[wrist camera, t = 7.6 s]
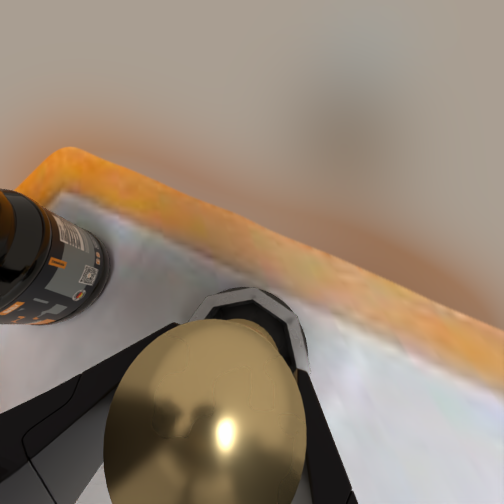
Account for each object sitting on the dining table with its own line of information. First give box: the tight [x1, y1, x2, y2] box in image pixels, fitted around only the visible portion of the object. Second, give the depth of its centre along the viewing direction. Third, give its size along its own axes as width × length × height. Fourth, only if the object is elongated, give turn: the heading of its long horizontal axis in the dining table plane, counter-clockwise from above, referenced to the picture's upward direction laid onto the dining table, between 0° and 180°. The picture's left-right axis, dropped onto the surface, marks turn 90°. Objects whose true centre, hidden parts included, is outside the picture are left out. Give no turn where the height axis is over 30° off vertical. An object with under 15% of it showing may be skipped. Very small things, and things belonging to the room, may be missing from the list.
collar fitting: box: [187, 287, 311, 376], centre depth 19 cm, size 12×12×4 cm
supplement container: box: [0, 189, 110, 325], centre depth 18 cm, size 10×10×12 cm
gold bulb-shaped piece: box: [103, 319, 306, 504], centre depth 10 cm, size 6×6×10 cm
